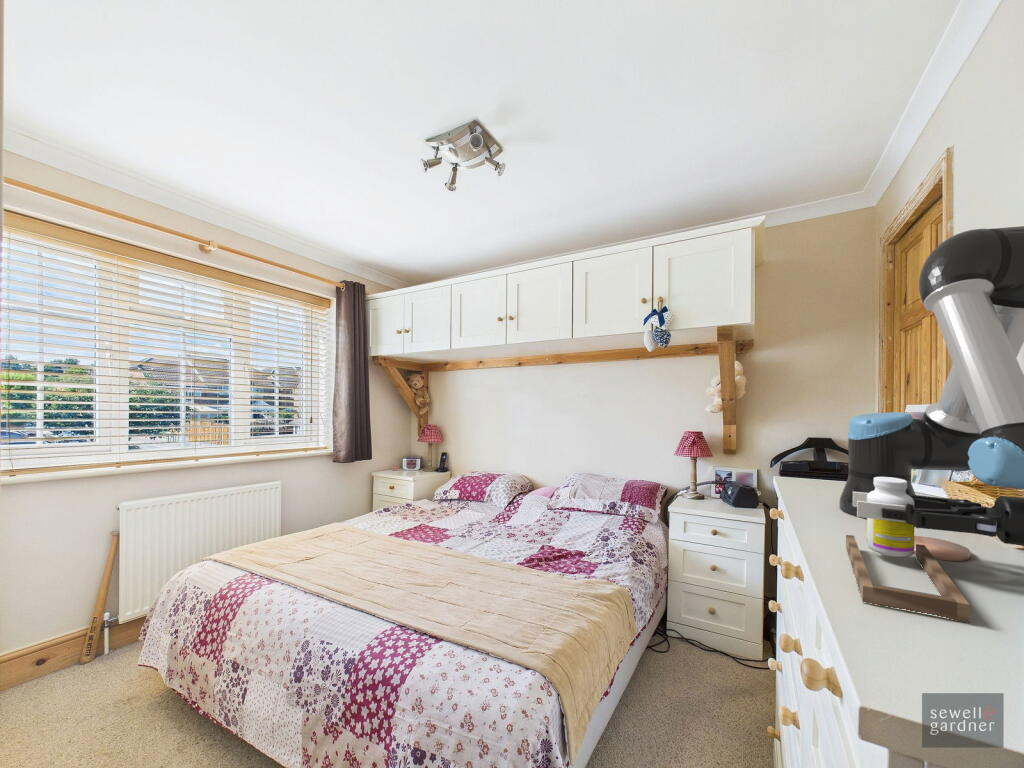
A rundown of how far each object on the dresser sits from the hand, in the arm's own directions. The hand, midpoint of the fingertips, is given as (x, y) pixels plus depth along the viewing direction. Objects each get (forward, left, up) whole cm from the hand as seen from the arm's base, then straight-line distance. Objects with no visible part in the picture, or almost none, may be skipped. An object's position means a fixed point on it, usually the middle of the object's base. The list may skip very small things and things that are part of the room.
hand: (855, 503), depth 87 cm
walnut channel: (+10, +5, -9) cm, 14 cm away
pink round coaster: (-8, +13, -9) cm, 18 cm away
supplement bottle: (0, +5, -8) cm, 9 cm away
